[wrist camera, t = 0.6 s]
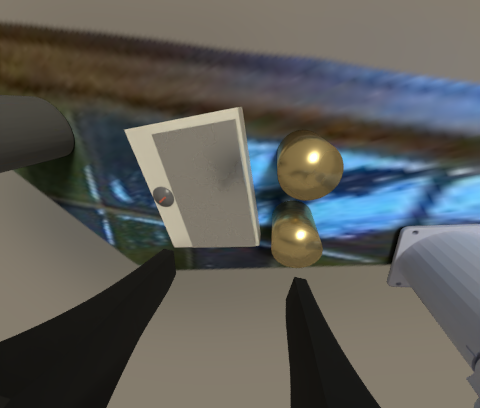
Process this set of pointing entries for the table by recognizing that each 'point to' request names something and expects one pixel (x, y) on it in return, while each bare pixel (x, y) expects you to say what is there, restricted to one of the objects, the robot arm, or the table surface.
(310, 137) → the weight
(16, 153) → the bottle
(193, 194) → the scale pan
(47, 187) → the table surface
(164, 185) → the scale
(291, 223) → the cylinder
